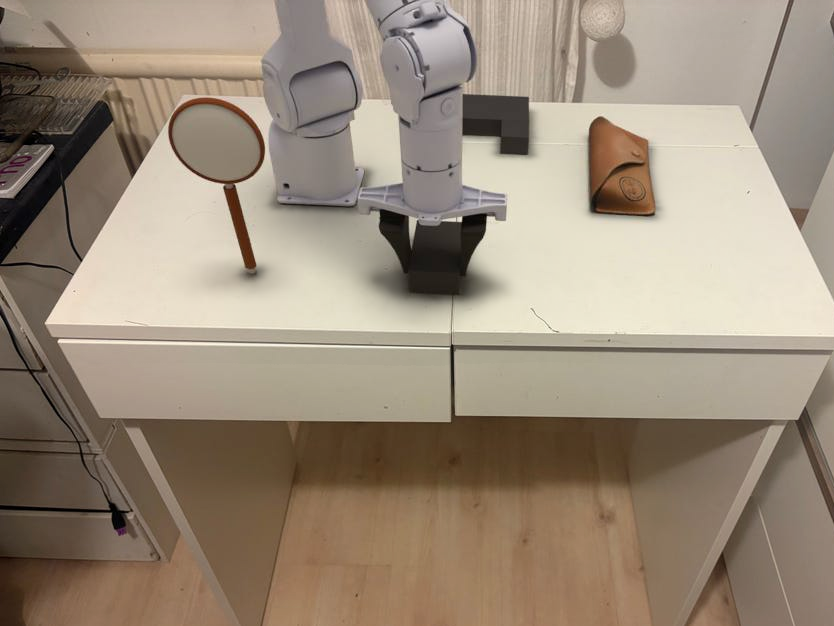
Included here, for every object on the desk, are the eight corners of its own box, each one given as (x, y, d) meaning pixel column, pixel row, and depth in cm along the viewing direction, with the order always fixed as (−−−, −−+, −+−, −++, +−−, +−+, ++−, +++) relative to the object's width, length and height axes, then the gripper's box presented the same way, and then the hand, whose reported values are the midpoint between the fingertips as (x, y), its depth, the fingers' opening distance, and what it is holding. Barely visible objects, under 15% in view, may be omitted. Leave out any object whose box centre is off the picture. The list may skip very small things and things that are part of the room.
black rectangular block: (409, 292, 76) (407, 270, 74) (418, 241, 82) (416, 219, 80) (459, 295, 76) (459, 273, 74) (464, 243, 82) (464, 221, 80)
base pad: (423, 150, 96) (423, 133, 94) (431, 108, 104) (431, 92, 102) (527, 154, 96) (529, 137, 94) (527, 112, 103) (528, 96, 102)
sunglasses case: (660, 213, 86) (641, 169, 82) (606, 234, 89) (584, 193, 85) (648, 138, 98) (631, 96, 94) (601, 158, 101) (582, 119, 97)
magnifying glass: (293, 268, 78) (256, 94, 64) (291, 278, 77) (252, 103, 62) (214, 267, 78) (159, 92, 63) (210, 277, 77) (153, 102, 62)
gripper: (346, 175, 63) (361, 290, 73) (508, 182, 63) (502, 297, 73) (359, 135, 68) (371, 248, 78) (510, 141, 68) (503, 254, 78)
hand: (435, 269), depth 76 cm, fingers closed on black rectangular block, 5 cm apart
